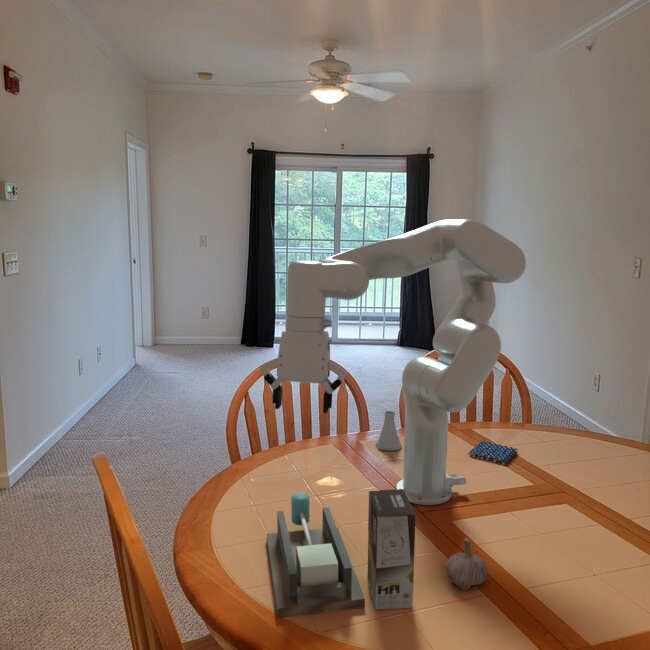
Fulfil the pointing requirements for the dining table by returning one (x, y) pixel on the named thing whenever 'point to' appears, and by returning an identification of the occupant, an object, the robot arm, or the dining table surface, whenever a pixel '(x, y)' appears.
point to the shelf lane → (316, 596)
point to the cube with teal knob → (312, 550)
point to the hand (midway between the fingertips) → (301, 409)
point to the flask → (389, 434)
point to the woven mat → (493, 452)
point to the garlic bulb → (466, 568)
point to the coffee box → (391, 549)
